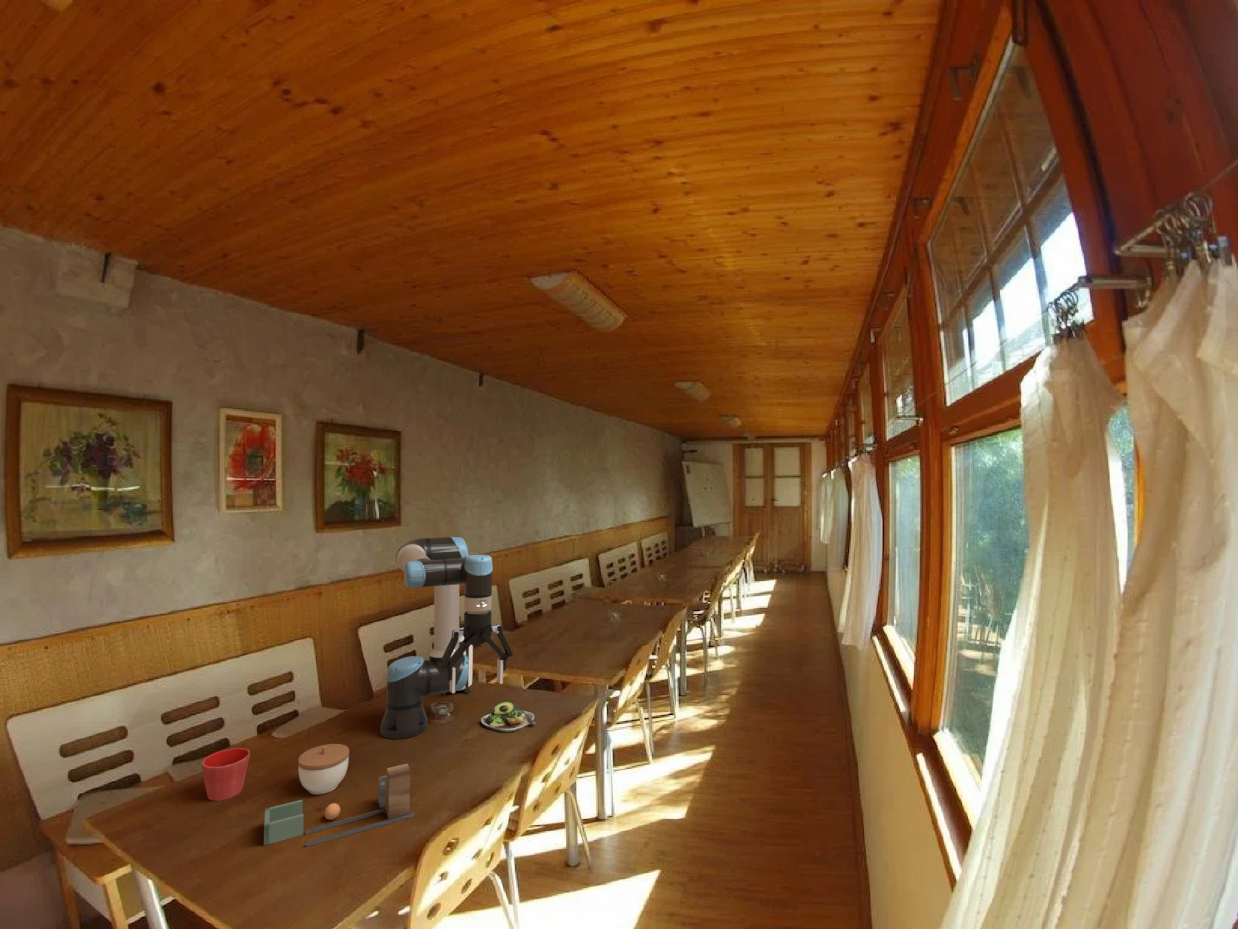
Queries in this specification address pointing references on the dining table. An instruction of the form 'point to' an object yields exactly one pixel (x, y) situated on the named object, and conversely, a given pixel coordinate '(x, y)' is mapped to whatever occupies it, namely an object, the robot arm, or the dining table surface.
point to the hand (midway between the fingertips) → (476, 687)
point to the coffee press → (470, 658)
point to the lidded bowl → (323, 767)
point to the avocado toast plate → (507, 717)
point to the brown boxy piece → (395, 791)
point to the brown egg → (332, 811)
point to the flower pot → (225, 773)
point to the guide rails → (355, 828)
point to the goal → (283, 822)
